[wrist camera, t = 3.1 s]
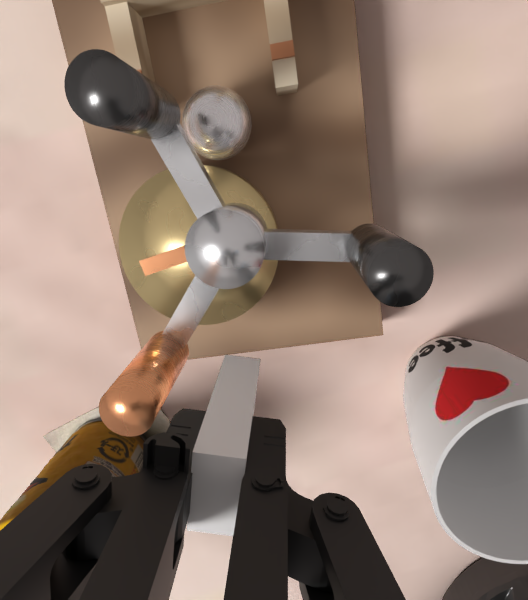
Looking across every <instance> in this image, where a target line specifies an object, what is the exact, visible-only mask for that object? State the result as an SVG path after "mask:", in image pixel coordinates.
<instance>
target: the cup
mask: <svg viewBox="0 0 528 600" xmlns="http://www.w3.org/2000/svg"><path fill="white" fill-rule="evenodd" d="M403 401H404V408H405V413H406V419H407V424H408V430H409V436H410V441H411V446H412V449H413V452H414V455H415V458H416V460H417V463H418V466H419V469H420V472H421V475H422V478H423V480H424V483H425V486H426V489H427V492H428V495H429V498H430V500H431V503H432V506H433V509H434V512H435V515H436V517H437V519H438V521H439V523H440V525H441V526H442V528H443V529H444V530H445V532H446V533H447V534H448V535H449V536H450V537H451V538H452V539H453V540H454V541H455V542H456V543H457V544H459V545H460V546H461V547H463V548H465V549H466V550H468V551H470V552H472V553H474V554H476V555H478V556H480V557H483V558H486V559H489V560H493V561H497V562H503V563H511V564H528V361H526V360H524V359H522V358H519V357H517V356H515V355H513V354H511V353H509V352H507V351H504V350H502V349H500V348H498V347H496V346H494V345H491V344H488V343H485V342H481V341H476V340H471V339H466V338H461V337H455V336H445V337H439V338H436V339H433V340H430V341H428V342H427V343H425V344H423V345H422V346H421V347H419V348H418V349H417V350H416V351H415V352H414V353H413V355H412V356H411V358H410V359H409V361H408V364H407V367H406V371H405V381H404V392H403Z"/></svg>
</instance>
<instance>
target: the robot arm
mask: <svg viewBox="0 0 528 600" xmlns="http://www.w3.org/2000/svg"><path fill="white" fill-rule="evenodd" d="M259 366H260V359H257V358H249V357H241V356H232V355H225V357H224V360H223V363H222V366H221V369H220V372H219V375H218V378H217V381H216V384H215V387H214V390H213V393H212V396H211V399H210V402H209V405H208V408H207V411H199V410H191V409H182V410H181V411H179V412H178V413H177V414H175V415H174V416H173V419H172V421H171V423H170V426H169V427H168V429H167V432H163V433H159V434H155V435H153V436H151V437H149V438H148V439H147V440H146V441H145V442H144V443H143V468H142V470H141V472H138V473H135V474H132V475H127V476H119V477H112V474H111V472H110V470H109V469H108V468H106V467H104V466H103V465H98V464H84V465H81V466H78V467H75V468H73V469H71V470H70V471H68V472H67V473H65V474H64V475H63V476H62V477H61V478H59V479H58V480H57V481H56V482H55V483H54V484H53V485H52V486H50V487H49V488H48V489H47V490H46V491H45V492H44V493H42V494H41V495H40V496H39V497H38V498H37V499H36V500H34V501H33V502H32V503H31V504H30V505H29V506H28V507H27V508H25V509H24V510H23V511H22V512H21V513H20V514H19V515H17V516H16V517H15V518H14V519H13V520H12V521H11V522H9V523H8V524H7V525H6V526H5V527H4V528H3V529H2V530H0V600H169V596H170V593H171V589H172V586H173V582H174V578H175V575H176V571H177V567H178V564H179V560H180V556H181V553H182V549H183V543H184V531H185V528H186V524H187V530H188V531H196V532H203V533H211V534H219V535H226V536H233V542H232V548H231V555H230V562H229V568H228V575H227V581H226V588H225V595H224V600H288V576H289V577H291V578H293V579H295V580H297V581H299V586H300V591H301V594H302V598H303V600H406V599H405V597H404V595H403V593H402V592H401V590H400V588H399V586H398V584H397V582H396V580H395V578H394V576H393V574H392V572H391V570H390V568H389V566H388V564H387V562H386V560H385V558H384V556H383V554H382V552H381V551H380V549H379V547H378V545H377V543H376V541H375V539H374V537H373V535H372V533H371V531H370V529H369V527H368V525H367V523H366V521H365V519H364V517H363V515H362V513H361V511H360V510H359V508H358V507H357V506H356V504H355V503H354V502H353V501H351V500H350V499H349V498H347V497H345V496H342V495H340V494H336V493H325V494H321V495H319V496H318V497H316V498H315V499H314V501H313V500H310V499H307V498H305V497H303V496H301V495H299V494H297V493H296V492H295V491H293V490H292V489H291V487H290V486H289V485H288V483H287V481H286V448H285V447H286V428H285V427H284V425H283V424H282V422H281V420H279V419H271V418H263V417H255V416H254V409H255V400H256V392H257V383H258V375H259ZM187 521H188V522H187ZM442 600H528V564H511V563H503V562H497V561H493V560H489V559H486V558H482V559H480V560H478V561H477V562H475V563H474V564H472V565H471V566H470V567H468V568H467V569H466V570H465V571H463V572H462V573H461V574H460V575H459V576H458V577H457V578H456V579H455V581H454V582H453V583H452V584H451V586H450V587H449V588H448V590H447V591H446V593H445V595H444V597H443V599H442Z"/></svg>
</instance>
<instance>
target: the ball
mask: <svg viewBox="0 0 528 600" xmlns="http://www.w3.org/2000/svg"><path fill="white" fill-rule="evenodd" d="M182 127H183V130H184V131H185V133H186V135H187V137H188V138H189V140H190V142H191V144H192V146H193V147H194V149H195V151H196V152H197V153H198V154H200V155H201V156H203V157H205V158H208V159H211V160H225V159H229V158H231V157H233V156H235V155H237V154H238V153H239V152H240V151H241V150H242V149H243V148H244V147H245V146H246V144H247V142H248V140H249V138H250V134H251V129H252V121H251V115H250V111H249V108H248V106H247V104H246V103H245V101H244V100H243V99H242V98H241V96H239V95H238V94H237V93H236V92H235V91H233V90H231V89H229V88H227V87H224V86H217V85H214V86H207V87H204V88H202V89H200V90H198V91H197V92H195V93H194V94H193V95H192V96H191V97H190V99H189V100H188V101H187V103H186V105H185V108H184V111H183V116H182Z"/></svg>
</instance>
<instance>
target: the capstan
mask: <svg viewBox="0 0 528 600" xmlns="http://www.w3.org/2000/svg"><path fill="white" fill-rule="evenodd" d="M65 92H66V97H67V99H68V102H69V104H70V106H71V108H72V109H73V111H74V112H75V113H76V114H77V115H78V116H79V117H80V118H81V119H82V120H84V121H85V122H87V123H89V124H92V125H95V126H99V127H103V128H107V129H111V130H115V131H119V132H123V133H127V134H131V135H135V136H139V137H143V138H147V139H151V140H152V142H153V144H154V146H155V147H156V149H157V151H158V152H159V154H160V156H161V158H162V159H163V161H164V163H165V164H166V166H167V168H168V169H167V170H165V171H162V172H160V173H158V174H156V175H155V176H153V177H152V178H150V179H149V180H147V181H146V182H145V183H144V184H143V185H142V186H141V187H140V188H139V189H138V190H137V191H136V192H135V193H134V195H133V196H132V198H131V199H130V201H129V202H128V204H127V207H126V209H125V211H124V213H123V216H122V220H121V223H120V229H119V252H120V257H121V262H122V265H123V268H124V271H125V274H126V276H127V278H128V279H129V281H130V283H131V285H132V286H133V288H134V289H135V291H136V292H137V293H138V294H139V296H140V297H141V298H142V299H143V300H144V301H145V302H146V303H147V304H148V305H150V306H151V307H152V308H154V309H155V310H156V311H158V312H159V313H161V314H163V315H165V316H167V317H169V318H171V319H170V321H169V323H168V324H167V326H166V328H165V330H164V331H160V332H158V333H156V334H154V335H153V336H152V337H151V338H150V340H149V341H148V342H147V343H146V344H145V346H144V347H143V348H142V349H141V351H140V352H139V353H138V354H137V355H136V357H135V358H134V359H133V360H132V361H131V363H130V364H129V365H128V366H127V367H126V369H125V370H124V371H123V372H122V373H121V375H120V376H119V377H118V378H117V379H116V381H115V382H114V383H113V384H112V386H111V387H110V388H109V389H108V390H107V392H106V393H105V394H104V395H103V397H102V398H101V400H100V403H99V414H100V417H101V419H102V421H103V423H104V424H105V425H106V426H107V427H108V428H109V429H110V430H111V431H113V432H115V433H117V434H119V435H122V436H130V437H131V436H138V435H141V434H143V433H145V432H146V431H147V430H148V429H149V428H150V427H151V426H152V424H153V422H154V420H155V418H156V416H157V415H158V413H159V411H160V409H161V407H162V405H163V403H164V402H165V400H166V398H167V396H168V394H169V392H170V390H171V389H172V387H173V385H174V383H175V381H176V379H177V377H178V376H179V374H180V372H181V370H182V368H183V366H184V364H185V363H186V361H187V359H188V356H189V348H188V344H187V343H188V341H189V339H190V338H191V336H192V334H193V332H194V331H195V329H196V327H197V326H198V325H212V324H219V323H223V322H227V321H229V320H232V319H234V318H237V317H238V316H240V315H242V314H244V313H245V312H247V311H248V310H249V309H251V308H252V307H253V306H254V305H255V304H256V303H257V302H258V301H259V300H260V299H261V298H262V297H263V295H264V294H265V293H266V291H267V290H268V288H269V286H270V285H271V282H272V280H273V278H274V275H275V272H276V268H277V264H278V260H291V261H329V262H350V263H351V264H352V266H353V267H354V268H355V270H356V271H357V273H358V274H359V275H360V277H361V278H362V280H363V281H364V282H365V284H366V285H367V287H368V288H369V290H370V291H371V292H372V294H373V295H374V296H375V297H376V298H377V299H378V300H379V301H380V302H382V303H384V304H386V305H389V306H394V307H402V306H407V305H410V304H413V303H415V302H417V301H418V300H420V299H421V298H422V297H423V296H424V295H425V294H426V293H427V291H428V290H429V288H430V286H431V284H432V280H433V265H432V262H431V260H430V258H429V257H428V255H427V254H426V253H425V252H424V251H423V250H422V249H420V248H418V247H416V246H415V245H413V244H411V243H409V242H408V241H406V240H404V239H402V238H401V237H399V236H397V235H395V234H393V233H392V232H390V231H388V230H386V229H385V228H383V227H381V226H379V225H377V224H372V223H367V224H362V225H360V226H358V227H356V228H355V229H353V230H352V231H336V230H294V229H278V226H277V222H276V219H275V216H274V214H273V211H272V209H271V207H270V206H269V204H268V202H267V200H266V199H265V198H264V196H263V195H262V194H261V192H260V191H259V190H258V189H257V188H256V187H255V186H254V185H253V184H251V183H250V182H249V181H247V180H246V179H245V178H243V177H241V176H240V175H238V174H236V173H234V172H232V171H229V170H227V169H224V168H220V167H216V166H208V165H203V163H202V162H201V160H200V158H199V156H198V154H197V153H196V151H195V149H194V147H193V146H192V144H191V142H190V140H189V138H188V137H187V135H186V133H185V131H184V130H183V128H182V126H181V124H180V117H181V115H180V108H179V105H178V103H177V101H176V99H175V98H174V97H173V96H172V94H170V93H169V92H168V91H166V90H165V89H163V88H162V87H161V86H159V85H158V84H156V83H155V82H153V81H152V80H150V79H149V78H147V77H146V76H145V75H143V74H142V73H140V72H139V71H137V70H136V69H134V68H133V67H131V66H130V65H128V64H127V63H126V62H124V61H123V60H121V59H120V58H118V57H117V56H115V55H114V54H112V53H110V52H108V51H105V50H100V49H91V50H87V51H84V52H82V53H80V54H79V55H77V56H76V57H75V58H74V59H73V60H72V62H71V63H70V65H69V67H68V69H67V72H66V76H65Z"/></svg>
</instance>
